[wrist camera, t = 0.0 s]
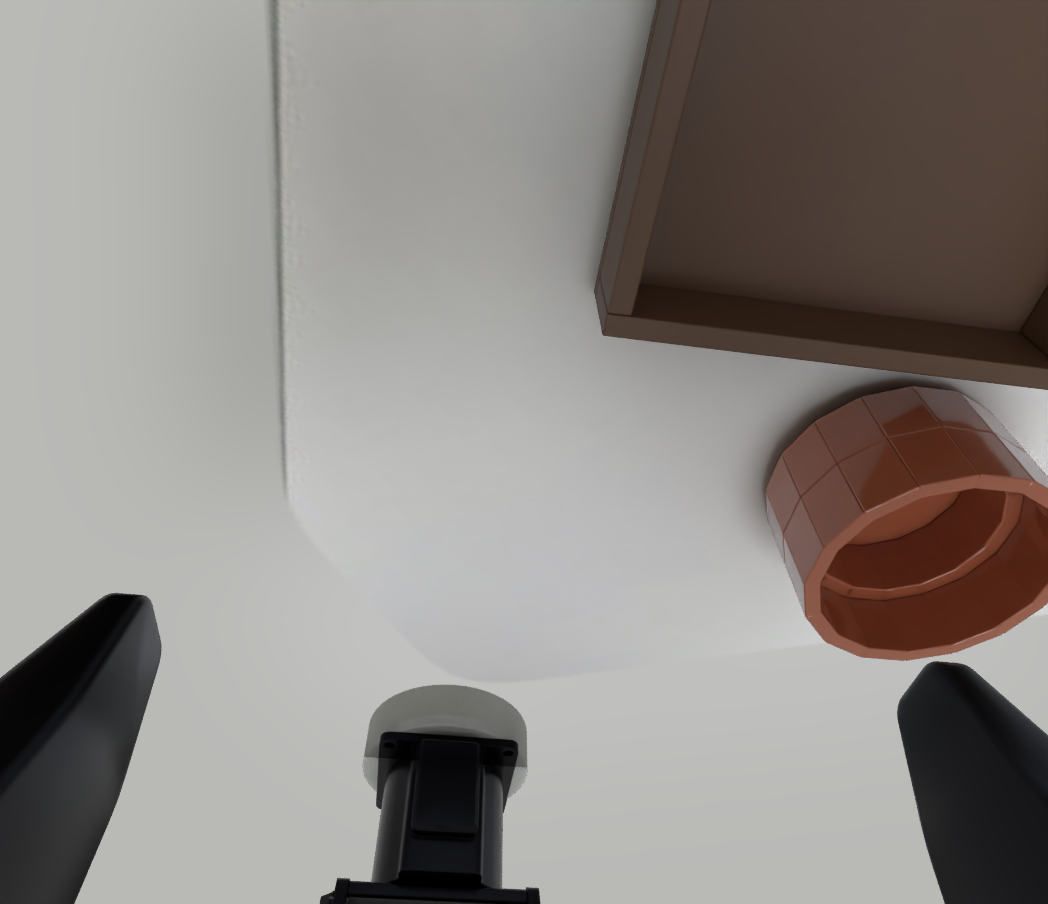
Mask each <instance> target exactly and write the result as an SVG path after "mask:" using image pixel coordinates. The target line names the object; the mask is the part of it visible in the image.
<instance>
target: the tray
mask: <svg viewBox="0 0 1048 904" xmlns="http://www.w3.org/2000/svg"><path fill="white" fill-rule="evenodd" d="M594 294H595V298H596V304H597V309H598V314H599V319H600V324H601V329H602V334H603V335H604V336H611V337H619V338H627V339H635V340H644V341H652V342H660V343H668V344H676V345H685V346H693V347H701V348H709V349H717V350H725V351H734V352H742V353H750V354H758V355H766V356H775V357H783V358H791V359H799V360H807V361H815V362H824V363H832V364H840V365H848V366H856V367H864V368H873V369H881V370H889V371H897V372H905V373H914V374H922V375H930V376H938V377H946V378H954V379H963V380H971V381H979V382H987V383H995V384H1004V385H1012V386H1020V387H1028V388H1036V389H1044V390H1048V0H657V3H656V7H655V12H654V16H653V21H652V26H651V30H650V35H649V40H648V44H647V49H646V53H645V58H644V63H643V67H642V72H641V77H640V81H639V86H638V90H637V95H636V100H635V104H634V109H633V114H632V118H631V123H630V127H629V132H628V137H627V141H626V146H625V150H624V155H623V160H622V164H621V169H620V174H619V178H618V183H617V187H616V192H615V197H614V201H613V206H612V211H611V215H610V220H609V224H608V229H607V234H606V238H605V243H604V248H603V252H602V257H601V261H600V266H599V271H598V275H597V280H596V285H595V289H594Z"/></svg>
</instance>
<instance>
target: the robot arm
mask: <svg viewBox="0 0 1048 904" xmlns="http://www.w3.org/2000/svg"><path fill="white" fill-rule="evenodd" d="M160 657H161V640H160V635H159V631H158V627H157V622H156V618H155V614H154V610H153V605H152V603H151V600H150V599H149V598H148V597H147V596H143V595H135V594H123V593H111V594H108V595H106V596H104V597H102V598H101V599H99V600H98V601H97V602H96V603H94V604H93V605H92V606H90V607H89V608H88V609H87V610H85V611H84V612H83V613H82V614H80V615H79V616H78V617H77V618H75V619H74V620H73V621H72V622H70V623H69V624H68V625H66V626H65V627H64V628H63V629H61V630H60V631H59V632H58V633H56V634H55V635H54V636H53V637H52V638H50V639H49V640H47V641H46V642H45V643H44V644H43V645H41V646H40V647H39V648H37V649H36V650H35V651H34V652H32V653H31V654H30V655H29V656H27V657H26V658H25V659H24V660H22V661H21V662H20V663H18V664H17V665H16V666H15V667H13V668H12V669H11V670H10V671H8V672H7V673H6V674H5V675H3V676H2V677H1V678H0V904H74V903H75V900H76V898H77V896H78V893H79V891H80V889H81V887H82V884H83V882H84V879H85V877H86V875H87V872H88V870H89V868H90V865H91V863H92V861H93V858H94V856H95V854H96V851H97V849H98V847H99V844H100V842H101V840H102V837H103V835H104V832H105V830H106V828H107V825H108V823H109V821H110V818H111V816H112V813H113V811H114V808H115V805H116V803H117V800H118V797H119V795H120V792H121V788H122V785H123V782H124V779H125V776H126V773H127V769H128V766H129V763H130V760H131V756H132V753H133V750H134V746H135V743H136V740H137V736H138V733H139V730H140V726H141V723H142V720H143V716H144V713H145V710H146V706H147V703H148V700H149V696H150V693H151V689H152V686H153V683H154V679H155V676H156V673H157V670H158V666H159V662H160ZM897 715H898V723H899V728H900V732H901V737H902V741H903V746H904V750H905V755H906V759H907V764H908V768H909V773H910V777H911V782H912V786H913V791H914V795H915V800H916V804H917V809H918V813H919V818H920V822H921V826H922V830H923V834H924V838H925V842H926V846H927V849H928V853H929V856H930V859H931V863H932V866H933V869H934V872H935V875H936V878H937V881H938V884H939V887H940V890H941V893H942V896H943V900H944V902H945V904H1048V735H1047V734H1046V733H1045V732H1044V731H1043V730H1041V729H1040V728H1039V727H1038V726H1037V725H1036V724H1034V723H1033V722H1032V721H1031V720H1030V719H1029V718H1027V717H1026V716H1025V715H1024V714H1023V713H1022V712H1021V711H1020V710H1019V709H1017V708H1016V707H1015V706H1014V705H1013V704H1012V703H1011V702H1009V701H1008V700H1007V699H1006V698H1005V697H1004V696H1003V695H1001V694H1000V693H999V692H998V691H997V690H996V689H995V688H993V687H992V686H991V685H990V684H989V683H988V682H987V681H986V680H984V679H983V678H982V677H981V676H980V675H979V674H977V673H976V672H975V671H974V670H973V669H971V668H970V667H968V666H966V665H963V664H959V663H948V662H938V661H937V662H931V663H929V664H927V665H926V666H925V667H924V668H923V670H922V671H921V672H920V673H919V675H918V676H917V677H916V679H915V680H914V681H913V683H912V684H911V685H910V687H909V688H908V689H907V691H906V692H905V693H904V695H903V696H902V698H901V699H900V701H899V704H898V711H897ZM517 757H518V743H517V742H516V741H514V740H509V739H495V738H480V737H466V736H451V735H437V734H422V733H408V732H393V731H389V732H384V733H383V734H381V736H380V742H379V757H378V777H377V798H376V806H377V807H378V808H379V809H381V815H380V822H379V830H378V837H377V845H376V852H375V858H374V866H373V873H372V880H371V882H360V881H350V879H347V878H337V882H336V887H335V891H333V892H332V893H329V894H327V895H324V896H322V897H321V900H320V904H540V896H539V888H526V890H520V889H502V832H503V812H504V809H505V805H506V801H507V797H508V793H509V789H510V785H511V781H512V777H513V773H514V769H515V765H516V761H517Z"/></svg>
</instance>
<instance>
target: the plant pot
mask: <svg viewBox="0 0 1048 904" xmlns="http://www.w3.org/2000/svg"><path fill="white" fill-rule="evenodd" d="M766 504H767V517H768V523H769V525H770V528H771V530H772V533H773V535H774V538H775V540H776V543H777V546H778V548H779V551H780V553H781V556H782V558H783V561H784V563H785V566H786V569H787V571H788V574H789V576H790V579H791V582H792V584H793V587H794V589H795V592H796V594H797V597H798V599H799V602H800V604H801V607H802V610H803V612H804V615H805V617H806V618H807V620H808V621H809V622H810V623H811V625H812V626H813V627H814V628H815V630H816V631H817V632H818V633H819V635H820V636H821V637H822V638H823V640H824V641H825V642H827V643H829V644H831V645H833V646H836V647H838V648H840V649H843V650H845V651H847V652H850V653H852V654H854V655H856V656H859V657H864V658H877V659H888V660H900V661H904V660H906V661H907V660H914V659H920V658H926V657H933V656H939V655H945V654H951V653H954V652H958V651H961V650H963V649H966V648H969V647H971V646H974V645H976V644H979V643H982V642H984V641H987V640H989V639H992V638H994V637H997V636H1000V635H1002V634H1003V633H1006V632H1007V631H1008V630H1010V629H1012V628H1013V627H1014V626H1016V625H1018V624H1019V623H1020V622H1022V621H1023V620H1025V619H1026V618H1028V617H1029V616H1031V615H1032V614H1034V613H1035V612H1037V611H1038V610H1040V609H1041V608H1043V607H1044V606H1045V605H1046V604H1047V603H1048V476H1047V475H1046V474H1045V473H1044V471H1043V470H1042V469H1041V468H1040V467H1039V466H1038V465H1037V464H1036V462H1035V461H1034V460H1033V459H1032V458H1031V457H1030V456H1029V455H1028V454H1027V452H1026V451H1025V450H1024V449H1023V448H1022V447H1021V445H1020V444H1019V443H1018V442H1017V441H1016V440H1015V439H1014V438H1013V436H1012V435H1011V434H1010V433H1009V432H1008V431H1007V430H1006V428H1005V427H1004V426H1003V425H1002V424H1001V423H1000V422H999V421H998V419H997V418H996V417H995V416H994V415H993V414H992V413H991V412H990V411H989V410H987V409H986V408H984V407H982V406H981V405H979V404H978V403H976V402H974V401H973V400H971V399H970V398H968V397H966V396H965V395H963V394H962V393H960V392H957V391H950V390H942V389H933V388H925V387H917V386H912V387H905V388H900V389H895V390H891V391H886V392H881V393H876V394H871V395H866V396H862V397H861V398H857V399H855V400H853V401H851V402H849V403H848V404H846V405H844V406H842V407H840V408H838V409H836V410H834V411H832V412H831V413H829V414H827V415H825V416H823V417H821V418H819V419H817V420H816V421H815V422H814V423H812V424H811V425H810V426H809V427H808V428H807V429H806V430H805V431H804V432H803V433H802V434H801V435H800V436H799V437H798V438H797V439H796V440H795V441H794V442H793V443H792V444H791V445H790V446H789V447H788V448H787V449H786V450H785V451H784V452H783V453H782V455H781V456H780V458H779V460H778V462H777V465H776V467H775V469H774V471H773V474H772V476H771V478H770V480H769V483H768V485H767V487H766Z"/></svg>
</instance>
